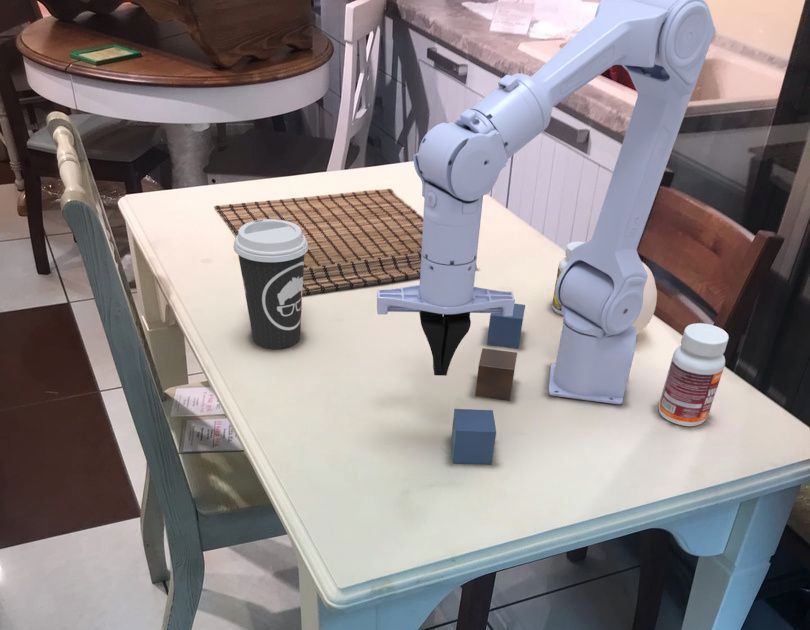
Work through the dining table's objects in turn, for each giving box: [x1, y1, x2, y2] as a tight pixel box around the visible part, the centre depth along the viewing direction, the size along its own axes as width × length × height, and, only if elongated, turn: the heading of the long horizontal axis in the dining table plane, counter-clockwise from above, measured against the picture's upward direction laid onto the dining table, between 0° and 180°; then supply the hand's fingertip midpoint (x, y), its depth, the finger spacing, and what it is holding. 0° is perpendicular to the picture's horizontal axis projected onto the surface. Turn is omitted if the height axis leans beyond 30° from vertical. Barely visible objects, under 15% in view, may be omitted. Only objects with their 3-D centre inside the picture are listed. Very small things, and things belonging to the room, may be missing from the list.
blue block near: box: [450, 408, 497, 465], centre depth 96 cm, size 4×4×4 cm
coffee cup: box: [233, 218, 309, 350], centre depth 111 cm, size 10×10×15 cm
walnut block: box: [474, 347, 518, 401], centre depth 107 cm, size 4×4×4 cm
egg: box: [631, 261, 658, 335], centre depth 117 cm, size 9×9×12 cm
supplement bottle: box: [551, 241, 586, 315], centre depth 124 cm, size 5×5×10 cm
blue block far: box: [486, 303, 526, 349], centre depth 117 cm, size 4×4×4 cm
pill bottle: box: [658, 322, 730, 427], centre depth 102 cm, size 6×6×11 cm
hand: (439, 371), depth 94 cm, fingers closed
